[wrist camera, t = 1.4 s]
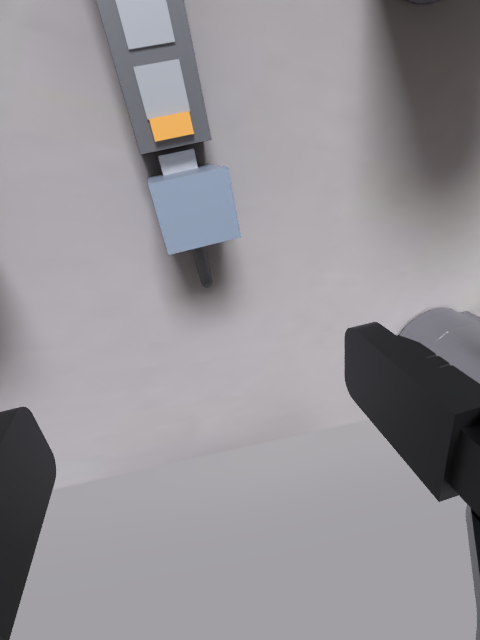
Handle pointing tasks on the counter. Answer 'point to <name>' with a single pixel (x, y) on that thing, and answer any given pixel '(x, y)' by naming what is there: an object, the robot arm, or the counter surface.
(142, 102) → the strip
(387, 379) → the robot arm
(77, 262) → the counter surface
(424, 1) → the canister
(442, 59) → the counter surface
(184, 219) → the block
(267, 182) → the counter surface
